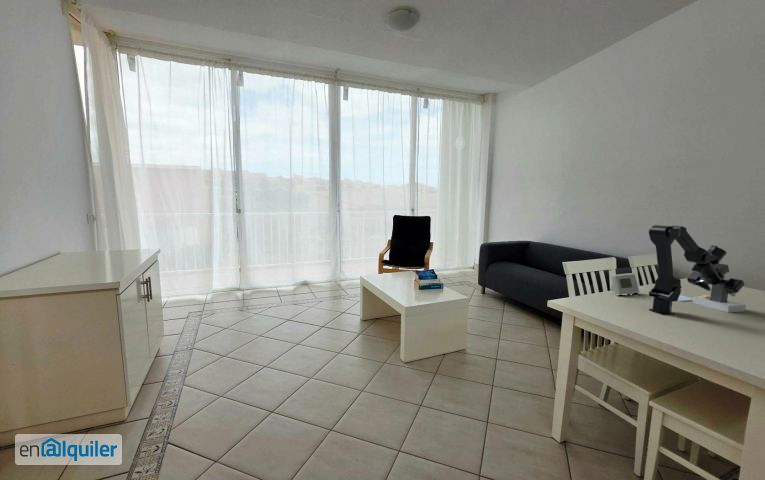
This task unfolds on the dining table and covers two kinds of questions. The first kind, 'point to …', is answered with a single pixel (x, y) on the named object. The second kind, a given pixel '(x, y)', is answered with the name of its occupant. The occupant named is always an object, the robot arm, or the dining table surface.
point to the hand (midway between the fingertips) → (721, 293)
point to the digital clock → (624, 284)
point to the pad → (683, 298)
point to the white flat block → (719, 304)
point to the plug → (719, 293)
